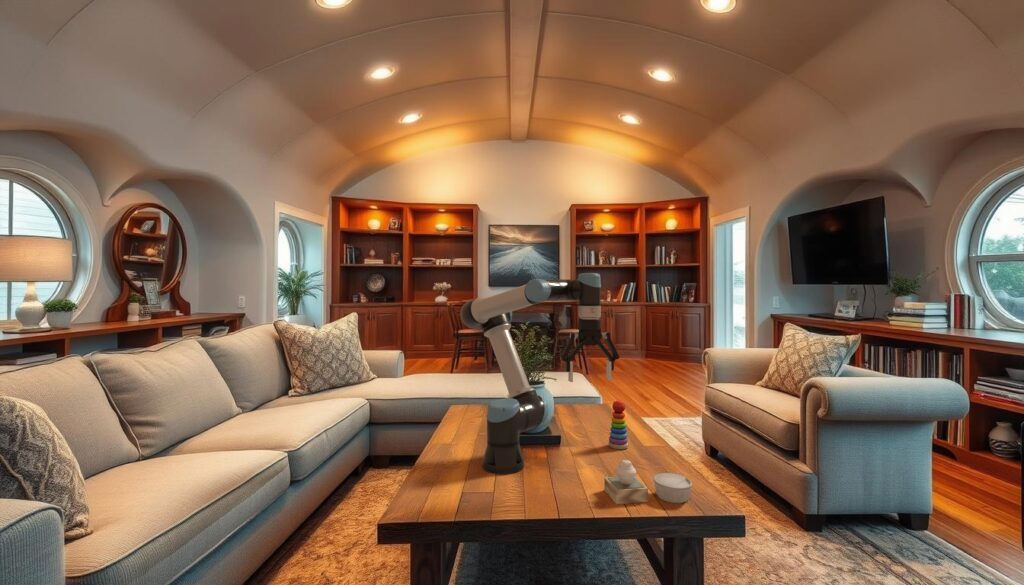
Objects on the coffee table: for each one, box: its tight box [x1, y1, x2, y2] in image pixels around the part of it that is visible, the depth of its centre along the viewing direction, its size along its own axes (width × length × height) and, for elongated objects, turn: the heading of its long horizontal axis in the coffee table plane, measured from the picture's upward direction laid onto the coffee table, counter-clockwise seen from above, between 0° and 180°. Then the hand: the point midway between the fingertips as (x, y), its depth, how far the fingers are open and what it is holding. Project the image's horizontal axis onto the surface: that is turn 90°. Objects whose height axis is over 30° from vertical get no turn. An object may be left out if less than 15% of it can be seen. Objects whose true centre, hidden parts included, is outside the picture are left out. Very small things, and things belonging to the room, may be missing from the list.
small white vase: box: [615, 459, 637, 484], centre depth 143 cm, size 6×6×7 cm
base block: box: [603, 476, 649, 505], centre depth 143 cm, size 10×10×4 cm
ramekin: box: [653, 472, 693, 504], centre depth 143 cm, size 11×11×5 cm
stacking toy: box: [608, 399, 629, 450], centre depth 188 cm, size 8×8×19 cm
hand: (589, 380), depth 158 cm, fingers open, 13 cm apart
